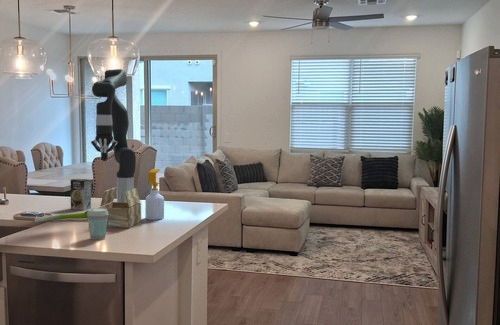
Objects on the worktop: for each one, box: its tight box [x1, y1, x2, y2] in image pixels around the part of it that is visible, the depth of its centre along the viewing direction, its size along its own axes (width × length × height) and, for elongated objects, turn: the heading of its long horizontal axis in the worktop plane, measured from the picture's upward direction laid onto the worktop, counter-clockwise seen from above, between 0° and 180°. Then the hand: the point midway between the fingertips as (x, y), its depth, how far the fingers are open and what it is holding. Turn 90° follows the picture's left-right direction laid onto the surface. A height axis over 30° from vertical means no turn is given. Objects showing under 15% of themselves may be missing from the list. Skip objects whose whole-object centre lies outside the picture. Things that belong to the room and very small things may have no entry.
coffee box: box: [70, 178, 92, 211], centre depth 273 cm, size 9×6×16 cm
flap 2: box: [125, 187, 141, 207], centre depth 235 cm, size 15×1×7 cm, turn 174°
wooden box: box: [99, 201, 142, 229], centre depth 236 cm, size 17×14×9 cm
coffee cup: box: [87, 207, 108, 241], centre depth 208 cm, size 9×8×12 cm
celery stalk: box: [34, 210, 88, 223], centre depth 242 cm, size 6×7×30 cm
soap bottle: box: [144, 168, 165, 221], centre depth 251 cm, size 9×9×25 cm
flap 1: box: [100, 186, 117, 207], centre depth 236 cm, size 15×1×7 cm, turn 174°
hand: (104, 160), depth 242 cm, fingers closed
